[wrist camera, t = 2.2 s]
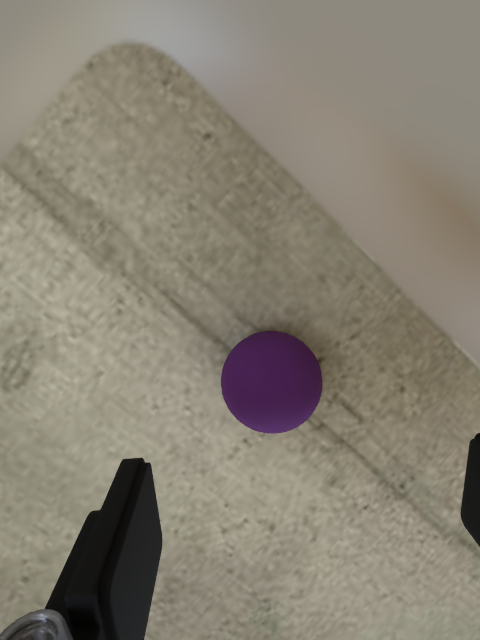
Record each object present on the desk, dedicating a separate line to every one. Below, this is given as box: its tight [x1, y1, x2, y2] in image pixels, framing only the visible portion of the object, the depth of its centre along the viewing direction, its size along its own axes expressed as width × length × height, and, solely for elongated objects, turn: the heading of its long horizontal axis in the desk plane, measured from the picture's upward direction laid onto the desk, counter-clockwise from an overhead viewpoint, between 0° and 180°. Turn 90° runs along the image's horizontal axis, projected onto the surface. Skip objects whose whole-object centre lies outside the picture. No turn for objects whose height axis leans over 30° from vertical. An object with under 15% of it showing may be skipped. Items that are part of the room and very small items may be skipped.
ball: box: [221, 331, 322, 433], centre depth 16 cm, size 4×4×4 cm
